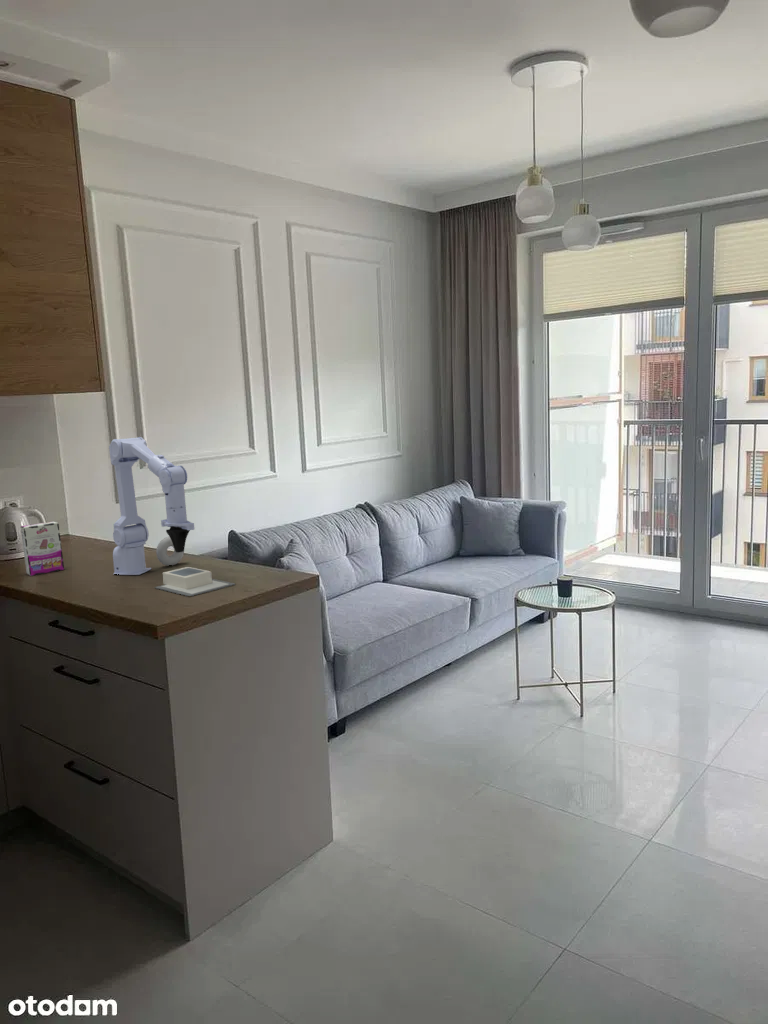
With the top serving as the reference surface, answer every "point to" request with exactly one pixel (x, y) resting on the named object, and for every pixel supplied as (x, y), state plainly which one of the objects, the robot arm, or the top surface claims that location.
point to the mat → (196, 588)
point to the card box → (187, 577)
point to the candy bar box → (42, 548)
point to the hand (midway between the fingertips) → (179, 551)
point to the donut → (163, 555)
